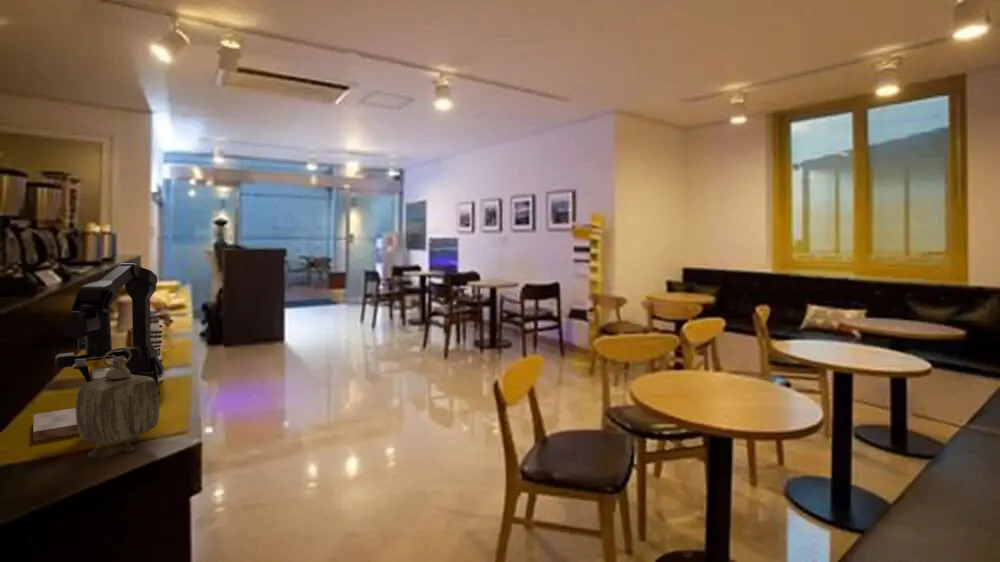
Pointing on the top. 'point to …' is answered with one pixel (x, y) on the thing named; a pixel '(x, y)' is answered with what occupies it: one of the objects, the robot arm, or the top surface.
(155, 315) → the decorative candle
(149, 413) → the tabletop clock
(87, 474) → the top surface
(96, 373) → the sprinkles bottle
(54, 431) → the wooden board
